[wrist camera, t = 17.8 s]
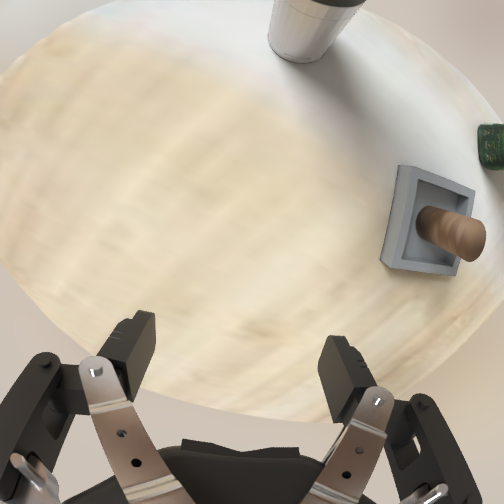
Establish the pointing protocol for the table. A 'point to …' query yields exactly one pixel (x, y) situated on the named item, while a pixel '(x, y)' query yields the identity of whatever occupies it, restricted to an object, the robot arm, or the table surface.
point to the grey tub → (404, 221)
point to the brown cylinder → (451, 232)
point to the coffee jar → (491, 145)
